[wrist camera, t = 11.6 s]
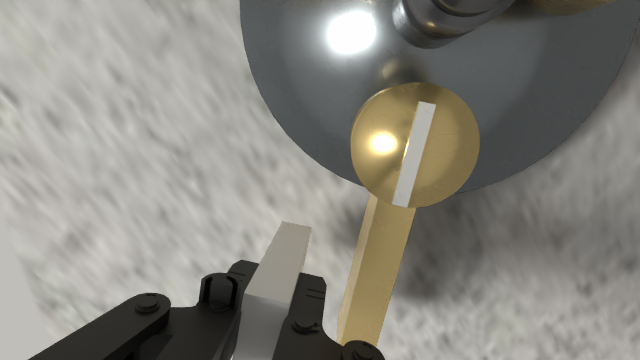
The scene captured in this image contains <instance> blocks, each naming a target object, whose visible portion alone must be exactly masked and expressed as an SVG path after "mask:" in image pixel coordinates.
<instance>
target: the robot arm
mask: <svg viewBox="0 0 640 360" xmlns="http://www.w3.org/2000/svg"><path fill="white" fill-rule="evenodd" d="M310 233H311V227H306V226H302V225H298V224H293V223H289V222H284V221H283V222H282V223H281V225H280V227H279V229H278V231H277V233H276V235H275V236H274V238H273V240H272V242H271V244H270V246H269V247H268V249H267V251H266V253H265V255H264V257H263V259H262V260H261V262H260V264H258V263H254V262H250V261H245V260H240V261H238V262H236V263H234V264H233V265H232V266H231V268H230V269H229V271H228V272H227V273H213V274H210V275H207V276H205V277H204V278H203V279H202V280H201V288H200V295H199V302H198V303H197V304H196V306H193V307H171V302H170V300H169V298H167V297H166V296H164V295H162V294H158V293H144V294H139V295H136V296H134V297H132V298H130V299H128V300H127V301H125V302H123V303H122V304H120V305H118V306H117V307H115V308H113V309H112V310H110V311H108V312H107V313H105V314H103V315H102V316H100V317H98V318H97V319H95V320H93V321H92V322H90V323H88V324H87V325H85V326H83V327H82V328H80V329H78V330H77V331H75V332H73V333H72V334H70V335H68V336H67V337H65V338H63V339H62V340H60V341H58V342H57V343H55V344H53V345H52V346H50V347H48V348H47V349H45V350H43V351H42V352H40V353H38V354H37V355H35V356H33V357H32V358H30V359H28V360H230V359H231V357H232V355H233V359H232V360H385V358H384V356H383V355H382V353H381V352H380V350H378V349H377V348H376V347H375V346H374V345H372V344H370V343H368V342H366V341H361V340H351V341H349V342H347V343H345V345H344V346H342V345H340V344H338V343H337V342H335V341H333V340H332V339H331V338H329V337H328V336H327V335H326V333H325V332H324V330H323V327H322V320H323V311H324V303H325V295H326V286H327V285H326V283H325V281H324V279H323V278H322V277H318V276H314V275H310V274H305V273H302V270H303V265H304V260H305V256H306V251H307V247H308V242H309V237H310Z"/></svg>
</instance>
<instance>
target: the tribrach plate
mask: <svg viewBox="0 0 640 360" xmlns="http://www.w3.org/2000/svg"><path fill="white" fill-rule="evenodd" d="M240 17H241V28H242V34H243V40H244V46H245V51H246V54H247V58H248V61H249V65H250V68H251V72H252V75H253V77H254V79H255V82H256V84H257V86H258V89H259V91H260V93H261V96H262V98H263V99H264V101H265V103H266V104H267V106H268V108H269V110H270V111H271V113H272V115H273V116H274V118H275V119H276V120H277V122H278V123H279V124H280V126H281V127H282V128H283V130H284V131H285V132H286V134H287V135H288V136H289V137H290V138H291V139H292V140H293V141H294V142H295V143H296V144H297V145H298V146H299V147H300V148H301V149H302V150H303V151H304V152H305V153H306V154H308V155H309V156H310V157H311V158H313V159H314V160H315V161H317V162H318V163H319V164H320V165H322V166H323V167H325V168H327V169H328V170H330V171H332V172H333V173H335V174H337V175H338V176H340V177H342V178H344V179H347V180H349V181H351V182H354V183H356V184H358V185H361V186H363V187H365V186H364V185H363V184H362V182H361V181H360V179H359V178H358V176H357V174H356V171H355V169H354V166H353V162H352V157H351V142H350V134H351V127H352V123H353V120H354V118H355V115H356V113H357V112H358V110H359V109H360V107H361V106H362V105H363V103H365V102H366V101H367V100H368V99H369V98H370V97H371V96H373V95H374V94H376V93H378V92H379V91H382V90H384V89H387V88H391V87H395V86H398V85H402V84H406V83H413V82H424V83H431V84H435V85H439V86H442V87H444V88H446V89H448V90H450V91H452V92H453V93H455V94H456V95H457V96H459V97H460V98H461V99H462V100H463V101H464V102H465V103H466V104H467V106H468V107H469V109H470V110H471V112H472V113H473V115H474V118H475V120H476V123H477V126H478V130H479V136H480V147H479V154H478V158H477V162H476V164H475V167H474V169H473V171H472V173H471V175H470V176H469V178H468V179H467V180H466V182H465V183H464V184H463V185H462V186H461V187H460V188H459V189H458V190H457V191H456V192H455V193H454V194H456V193H461V192H466V191H470V190H475V189H478V188H481V187H484V186H487V185H490V184H493V183H496V182H499V181H501V180H503V179H505V178H507V177H509V176H511V175H513V174H515V173H518V172H520V171H522V170H523V169H525V168H527V167H528V166H530V165H531V164H533V163H535V162H536V161H538V160H539V159H541V158H543V157H544V156H545V155H547V154H548V153H549V152H550V151H552V150H553V149H554V148H555V147H557V146H558V145H559V144H560V143H562V142H563V141H564V140H565V139H566V138H567V137H568V136H569V135H570V134H571V133H572V132H573V131H574V130H575V129H576V128H577V127H578V126H579V125H580V124H581V123H582V122H583V121H584V120H585V119H586V118H587V117H588V115H589V114H590V113H591V112H592V110H593V109H594V108H595V106H596V105H597V104H598V103H599V101H600V100H601V99H602V98H603V96H604V94H605V93H606V91H607V90H608V88H609V86H610V85H611V83H612V82H613V80H614V78H615V77H616V75H617V73H618V71H619V69H620V67H621V65H622V63H623V61H624V59H625V57H626V55H627V52H628V50H629V48H630V46H631V43H632V40H633V37H634V34H635V31H636V28H637V25H638V22H639V19H640V0H615V1H613V2H610V3H607V4H605V5H602V6H599V7H596V8H594V9H591V10H588V11H586V12H583V13H579V14H576V15H569V16H558V15H552V14H548V13H545V12H543V11H541V10H539V9H537V8H536V7H534V6H533V5H532V4H531V3H529V2H528V0H240Z"/></svg>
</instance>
